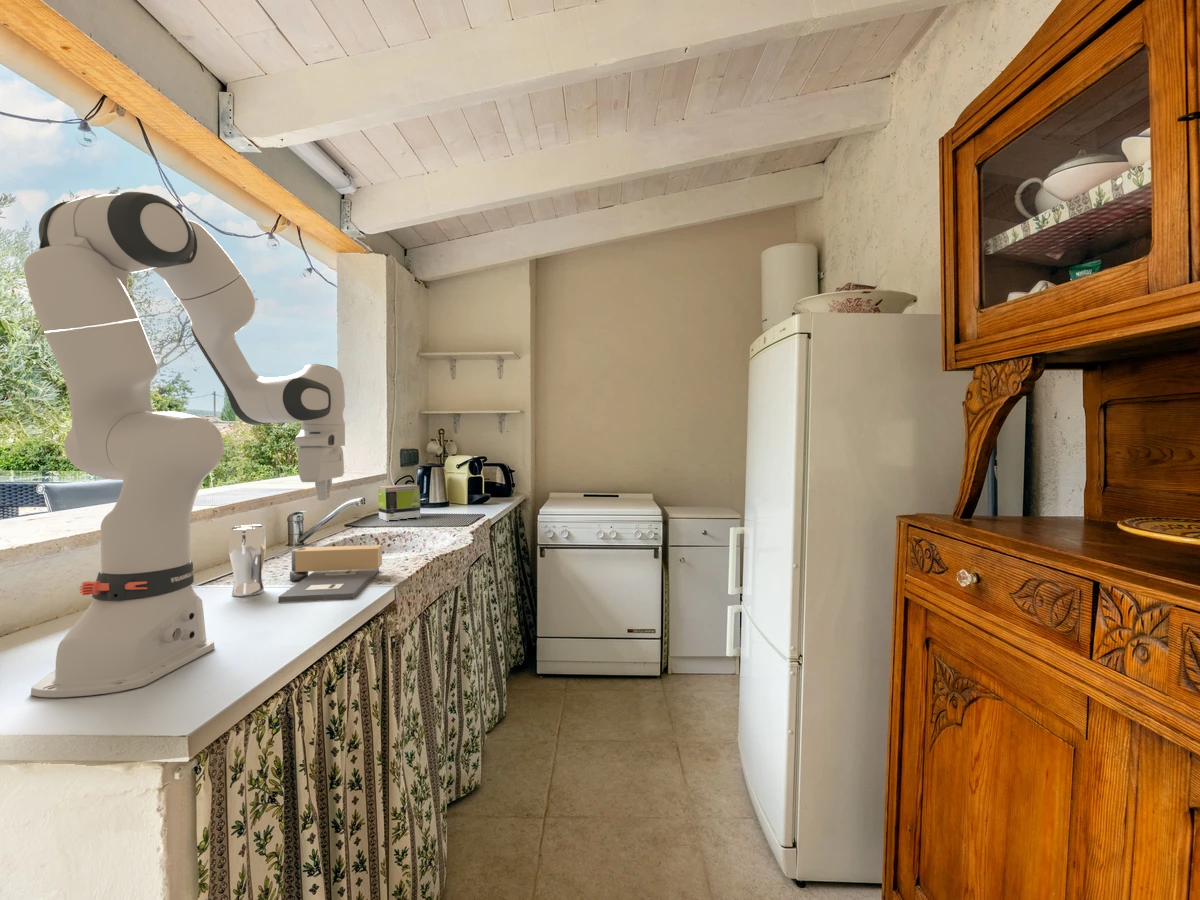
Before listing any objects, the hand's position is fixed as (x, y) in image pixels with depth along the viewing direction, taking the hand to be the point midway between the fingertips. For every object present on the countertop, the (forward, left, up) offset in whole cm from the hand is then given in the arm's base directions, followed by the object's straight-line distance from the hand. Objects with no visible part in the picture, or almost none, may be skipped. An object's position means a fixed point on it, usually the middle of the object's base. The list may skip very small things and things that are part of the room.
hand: (323, 499), depth 124 cm
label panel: (+7, 0, -21) cm, 22 cm away
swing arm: (+14, +1, -19) cm, 23 cm away
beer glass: (+3, +17, -21) cm, 27 cm away
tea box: (+119, +4, -21) cm, 121 cm away
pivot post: (+14, +10, -21) cm, 27 cm away
